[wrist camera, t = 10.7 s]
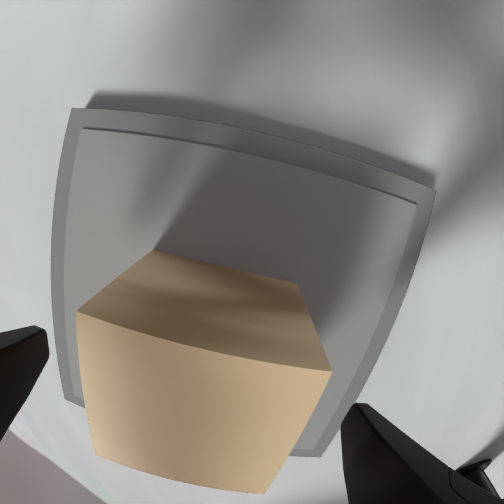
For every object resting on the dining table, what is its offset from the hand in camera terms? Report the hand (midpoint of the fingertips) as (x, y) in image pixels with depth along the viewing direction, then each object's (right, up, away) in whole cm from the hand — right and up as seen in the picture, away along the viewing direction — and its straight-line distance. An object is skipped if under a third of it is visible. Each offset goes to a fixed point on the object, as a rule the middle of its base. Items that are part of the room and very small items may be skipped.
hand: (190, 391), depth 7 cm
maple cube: (0, +1, +3) cm, 4 cm away
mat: (0, +1, +4) cm, 4 cm away
